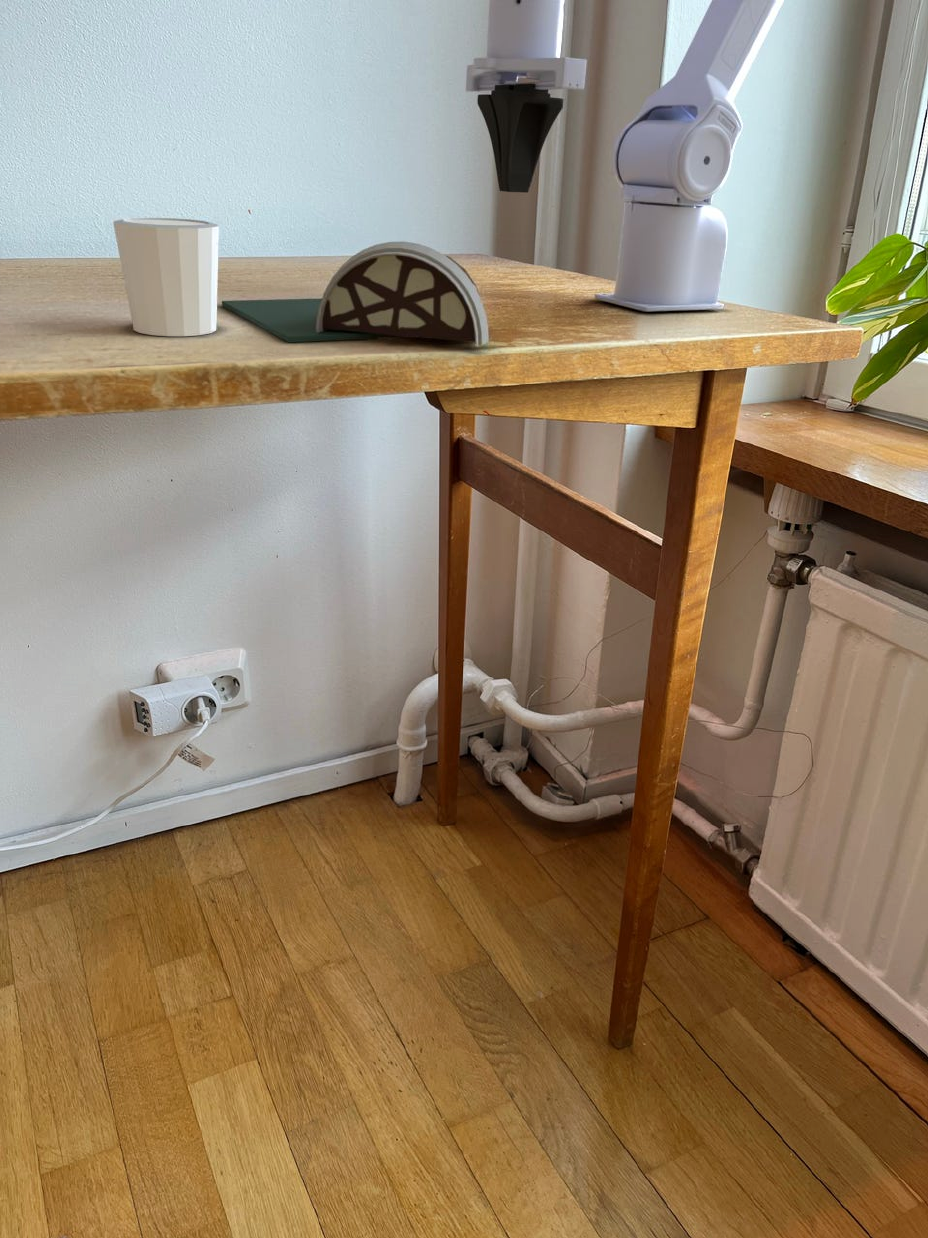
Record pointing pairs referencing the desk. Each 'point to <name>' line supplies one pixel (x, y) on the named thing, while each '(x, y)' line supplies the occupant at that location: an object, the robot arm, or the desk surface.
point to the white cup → (170, 274)
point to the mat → (292, 319)
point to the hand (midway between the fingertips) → (514, 191)
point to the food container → (404, 295)
